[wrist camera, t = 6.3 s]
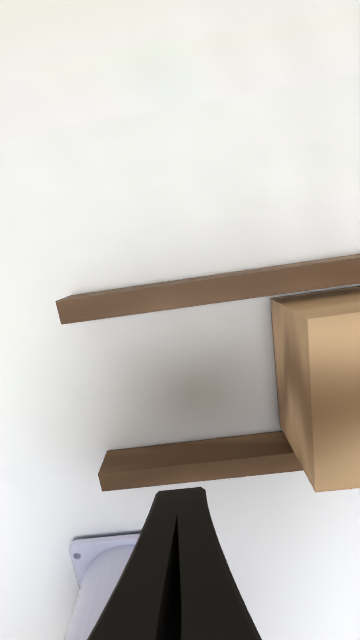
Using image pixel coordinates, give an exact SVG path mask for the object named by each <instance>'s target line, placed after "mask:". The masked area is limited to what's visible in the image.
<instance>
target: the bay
mask: <svg viewBox="0 0 360 640" xmlns="http://www.w3.org/2000/svg"><path fill="white" fill-rule="evenodd" d="M358 283H360V254H356V255H349V256H342V257H335V258H328V259H321V260H314V261H307V262H300V263H293V264H286V265H279V266H272V267H265V268H258V269H251V270H244V271H237V272H230V273H224V274H217V275H210V276H203V277H196V278H189V279H182V280H175V281H168V282H161V283H154V284H147V285H140V286H133V287H126V288H119V289H112V290H105V291H98V292H91V293H84V294H77V295H71V296H68V297H66V298H63V299H60V300H58V301H56V305H57V309H58V313H59V317H60V321H61V324H68V323H75V322H83V321H90V320H97V319H104V318H112V317H119V316H126V315H133V314H141V313H148V312H155V311H162V310H170V309H177V308H184V307H191V306H199V305H206V304H213V303H220V302H227V301H235V300H242V299H249V298H256V297H264V296H271V295H278V294H285V293H293V292H300V291H307V290H314V289H322V288H329V287H336V286H343V285H351V284H358ZM302 470H303V468H302V466H301V464H300V462H299V461H298V459H297V457H296V455H295V453H294V451H293V449H292V447H291V446H290V444H289V442H288V440H287V438H286V436H285V434H284V432H283V431H280V432H271V433H262V434H253V435H245V436H236V437H227V438H218V439H209V440H200V441H191V442H182V443H173V444H165V445H156V446H147V447H138V448H129V449H120V450H111V451H107V453H106V455H105V458H104V460H103V463H102V465H101V468H100V471H99V473H98V476H99V480H100V484H101V488H102V491H111V490H121V489H130V488H140V487H149V486H159V485H168V484H178V483H188V482H197V481H207V480H216V479H226V478H235V477H245V476H254V475H264V474H273V473H283V472H292V471H302Z"/></svg>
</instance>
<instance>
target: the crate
mask: <svg viewBox="0 0 360 640" xmlns="http://www.w3.org/2000/svg"><path fill="white" fill-rule="evenodd" d="M271 309H272V322H273V336H274V349H275V363H276V376H277V390H278V403H279V417H280V427H281V429H282V431H283V432H284V434H285V436H286V438H287V440H288V442H289V444H290V446H291V447H292V449H293V451H294V453H295V455H296V457H297V459H298V461H299V462H300V464H301V466H302V468H303V470H304V472H305V474H306V476H307V477H308V479H309V481H310V483H311V485H312V487H313V489H314V490H315V492H324V491H334V490H344V489H354V488H360V286H357V287H350V288H343V289H335V290H328V291H321V292H314V293H306V294H299V295H292V296H285V297H277V298H271Z"/></svg>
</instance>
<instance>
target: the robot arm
mask: <svg viewBox="0 0 360 640" xmlns="http://www.w3.org/2000/svg"><path fill="white" fill-rule="evenodd" d="M69 553H70V556H71V560H72V563H73V567H74V570H75V573H76V577H77V580H78V584H79V587H80V590H79V594H78V597H77V600H76V603H75V606H74V609H73V613H72V616H71V619H70V622H69V625H68V628H67V632H66V635H65V638H64V640H262V639H261V637H260V635H259V633H258V631H257V629H256V627H255V625H254V623H253V620H252V618H251V616H250V614H249V612H248V610H247V608H246V605H245V603H244V601H243V599H242V597H241V594H240V592H239V590H238V588H237V585H236V583H235V581H234V578H233V576H232V574H231V571H230V569H229V566H228V564H227V561H226V559H225V556H224V554H223V551H222V549H221V546H220V544H219V541H218V538H217V535H216V532H215V529H214V526H213V523H212V520H211V516H210V513H209V509H208V504H207V498H206V491H205V489H203V488H202V487H195V488H185V489H175V490H165V491H158V493H157V494H156V495H155V498H154V501H153V503H152V506H151V509H150V511H149V514H148V517H147V519H146V521H145V524H144V526H143V529H142V531H141V533H140V534H130V535H119V536H109V537H98V538H88V539H77V540H73V541H72V542H71V544H70V546H69Z"/></svg>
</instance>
